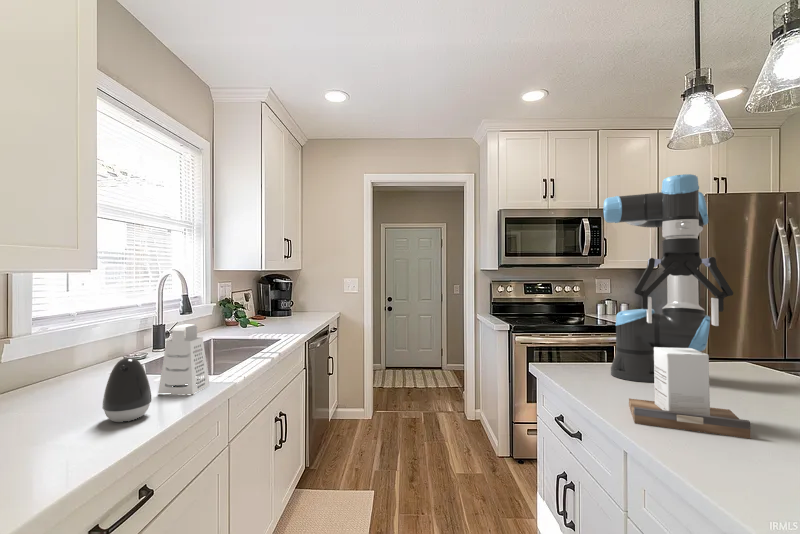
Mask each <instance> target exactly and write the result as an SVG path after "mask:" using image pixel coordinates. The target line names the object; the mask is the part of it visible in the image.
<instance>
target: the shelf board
mask: <svg viewBox="0 0 800 534" xmlns="http://www.w3.org/2000/svg"><path fill="white" fill-rule="evenodd" d="M628 407H629V411H630V413H631V416H632V419H633V422H634V424H637V425H646V426H653V427H658V426H659V427H661V428H667V429H674V428H675V430H681V429H685V430H684V431H689V430H692V431H691V432H696V431H700V432H699V433H704V432H706V433H705V434H711V433H714V434H713V435H719V434H721V435H720V436H726V435H728V436H727V437H734V436H735V437H736V438H744V439H751V421H750V420H748V419H743V418H741V419H740V418H739V417H738V416H737V415H736V414H735V413H734V412H733V411H731V409H727V408H717V407H712V406H710V416H708V415H699V414H691V413H682V412H674V411H665V410H662V409H661V408H659V407H658V406H657V405H656V404H655V400H647V399H637V398H636V399H635V398H630V397H629V398H628ZM735 437H734V438H735Z"/></svg>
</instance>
